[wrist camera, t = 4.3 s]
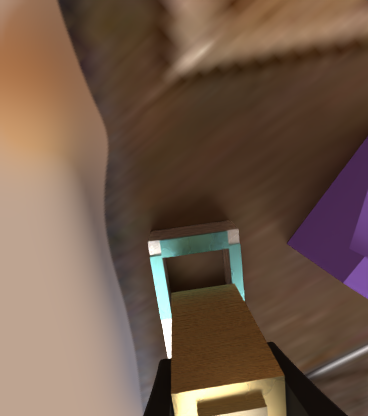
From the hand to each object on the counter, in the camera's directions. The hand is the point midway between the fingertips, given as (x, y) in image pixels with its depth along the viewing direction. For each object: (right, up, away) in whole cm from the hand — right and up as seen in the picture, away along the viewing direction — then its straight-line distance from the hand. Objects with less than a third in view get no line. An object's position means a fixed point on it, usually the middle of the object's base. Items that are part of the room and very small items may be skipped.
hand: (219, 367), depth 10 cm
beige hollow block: (0, +1, +4) cm, 4 cm away
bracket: (+14, +7, +10) cm, 19 cm away
